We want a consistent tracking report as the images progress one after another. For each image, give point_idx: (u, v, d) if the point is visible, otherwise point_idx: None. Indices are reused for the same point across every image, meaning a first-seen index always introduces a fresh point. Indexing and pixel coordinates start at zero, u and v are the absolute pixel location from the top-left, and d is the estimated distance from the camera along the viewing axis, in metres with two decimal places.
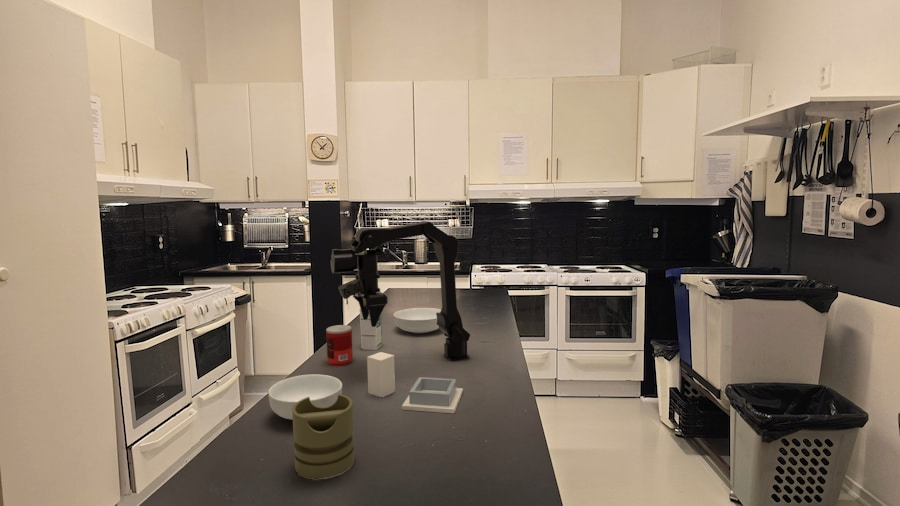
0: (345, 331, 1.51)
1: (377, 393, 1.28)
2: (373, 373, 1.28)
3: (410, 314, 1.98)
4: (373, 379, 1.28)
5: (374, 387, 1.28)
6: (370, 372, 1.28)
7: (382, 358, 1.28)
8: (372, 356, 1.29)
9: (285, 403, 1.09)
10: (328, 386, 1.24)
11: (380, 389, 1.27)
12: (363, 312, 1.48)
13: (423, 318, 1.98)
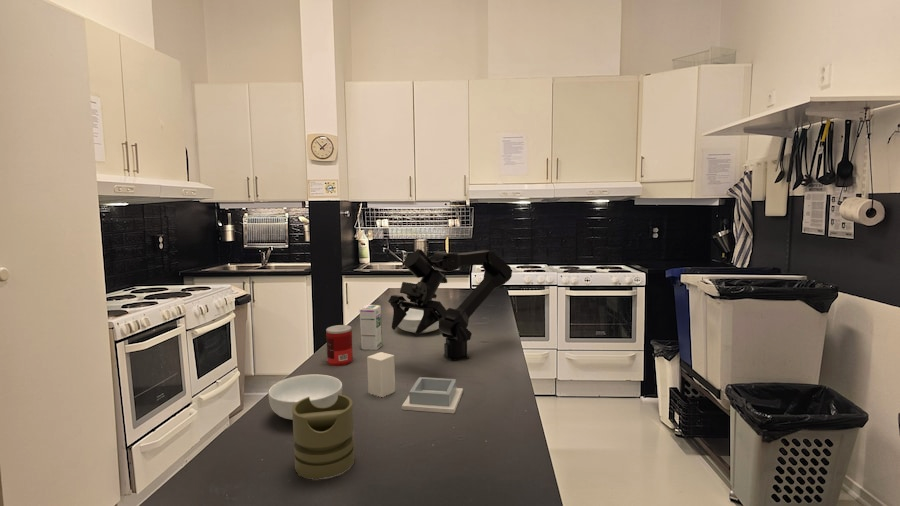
0: (345, 331, 1.51)
1: (377, 393, 1.28)
2: (373, 373, 1.28)
3: (410, 314, 1.98)
4: (373, 379, 1.28)
5: (374, 387, 1.28)
6: (370, 372, 1.28)
7: (382, 358, 1.28)
8: (372, 356, 1.29)
9: (285, 403, 1.09)
10: (328, 386, 1.24)
11: (380, 389, 1.27)
12: (395, 321, 1.43)
13: None
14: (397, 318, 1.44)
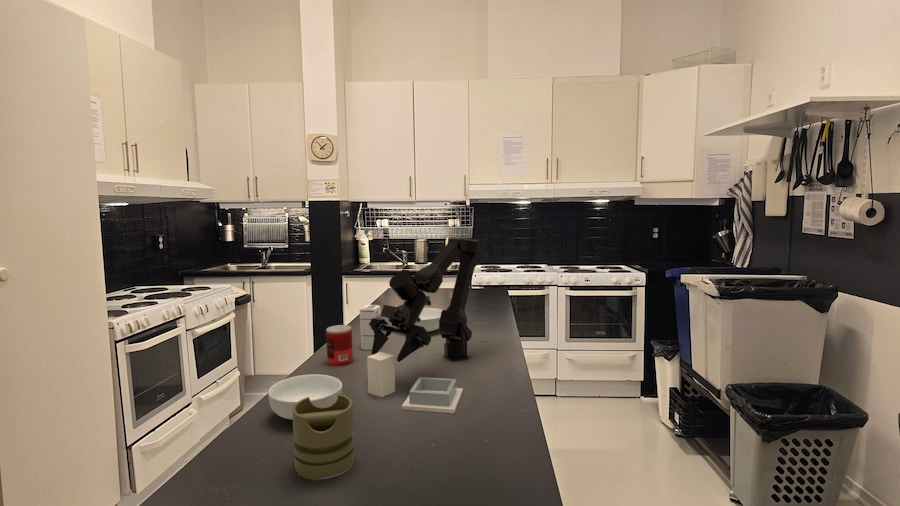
0: (345, 331, 1.51)
1: (377, 393, 1.28)
2: (373, 373, 1.28)
3: None
4: (373, 379, 1.28)
5: (374, 387, 1.28)
6: (370, 372, 1.28)
7: (382, 358, 1.28)
8: (372, 356, 1.29)
9: (285, 403, 1.09)
10: (328, 386, 1.24)
11: (380, 389, 1.27)
12: (375, 346, 1.34)
13: (423, 318, 1.98)
14: (378, 343, 1.35)
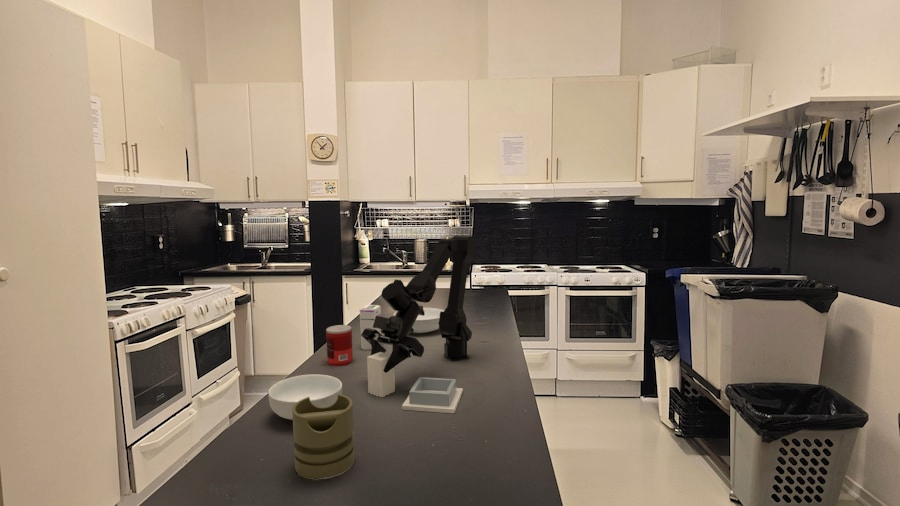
0: (345, 331, 1.51)
1: (377, 393, 1.28)
2: (373, 373, 1.28)
3: None
4: (373, 379, 1.28)
5: (374, 387, 1.28)
6: (370, 372, 1.28)
7: (382, 357, 1.28)
8: (372, 356, 1.29)
9: (285, 403, 1.09)
10: (328, 386, 1.24)
11: (380, 389, 1.27)
12: None
13: (423, 318, 1.98)
14: None
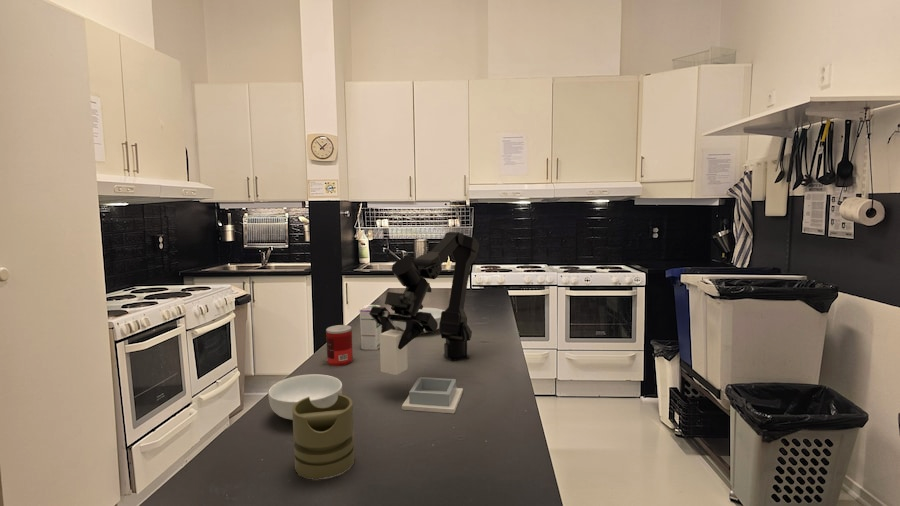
0: (345, 331, 1.51)
1: (391, 371, 1.25)
2: (387, 350, 1.25)
3: None
4: (386, 356, 1.25)
5: (387, 365, 1.25)
6: (383, 349, 1.25)
7: (395, 334, 1.25)
8: (384, 333, 1.26)
9: (285, 403, 1.09)
10: (328, 386, 1.24)
11: (395, 366, 1.24)
12: None
13: None
14: None
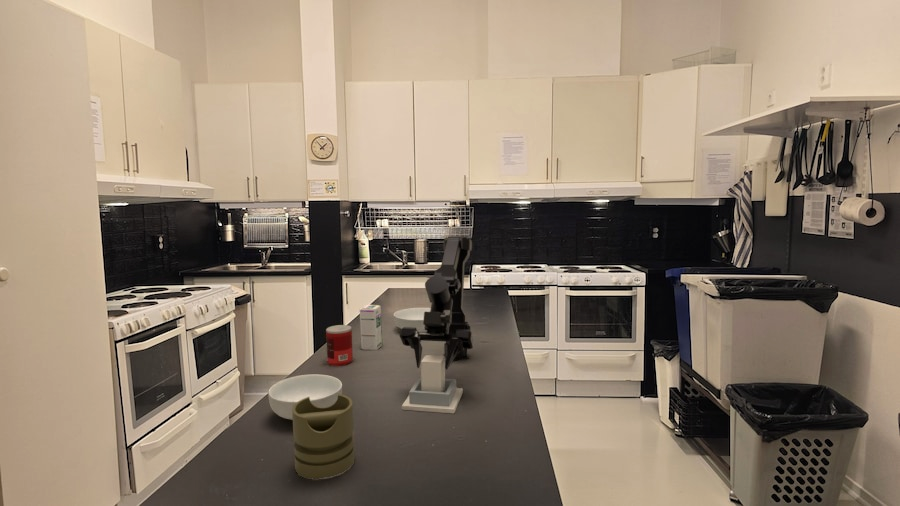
0: (345, 331, 1.51)
1: None
2: (429, 377, 1.22)
3: (410, 314, 1.98)
4: (429, 384, 1.22)
5: None
6: (425, 377, 1.22)
7: (437, 360, 1.22)
8: (425, 360, 1.22)
9: (285, 403, 1.09)
10: (328, 386, 1.24)
11: None
12: (419, 358, 1.24)
13: (423, 318, 1.98)
14: (419, 354, 1.25)
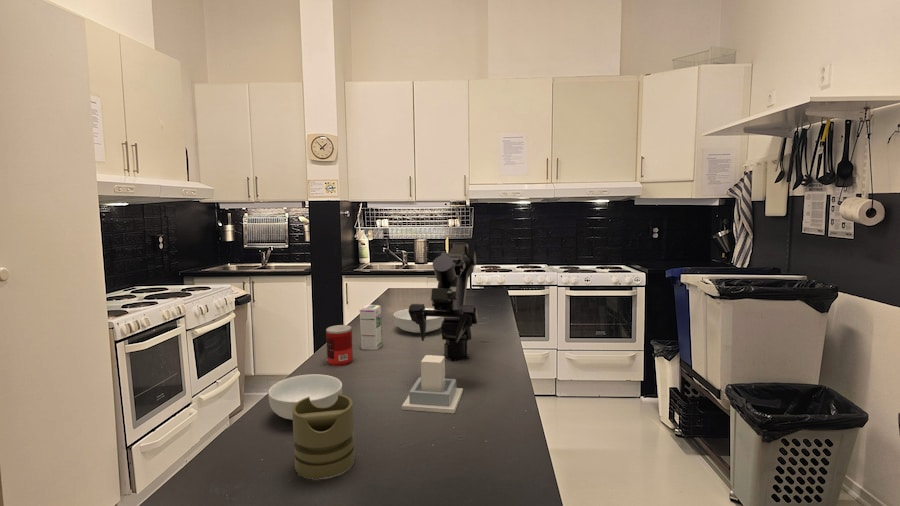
0: (345, 331, 1.51)
1: None
2: (429, 377, 1.22)
3: None
4: (429, 384, 1.22)
5: None
6: (425, 377, 1.22)
7: (437, 360, 1.22)
8: (425, 360, 1.22)
9: (285, 403, 1.09)
10: (328, 386, 1.24)
11: None
12: (423, 331, 1.32)
13: None
14: (424, 328, 1.33)
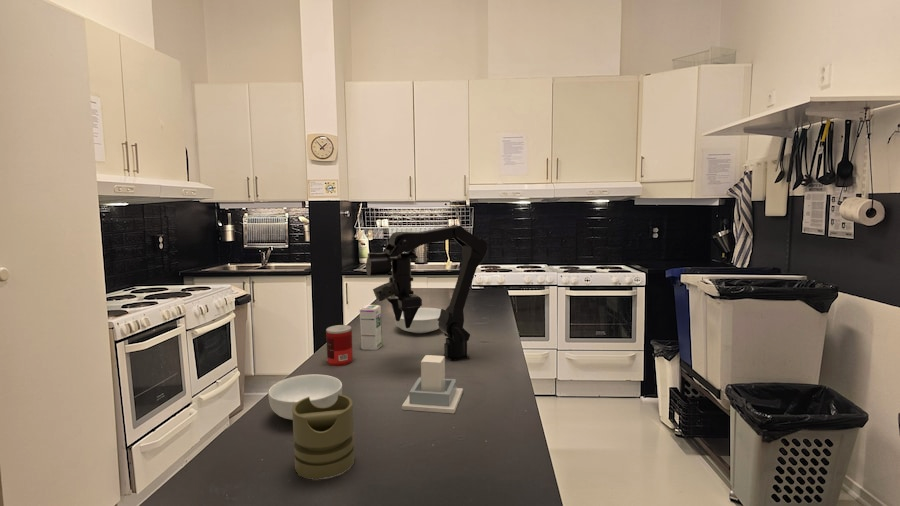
0: (345, 331, 1.51)
1: None
2: (429, 377, 1.22)
3: None
4: (429, 384, 1.22)
5: None
6: (425, 377, 1.22)
7: (437, 360, 1.22)
8: (425, 360, 1.22)
9: (285, 403, 1.09)
10: (328, 386, 1.24)
11: None
12: (396, 314, 1.53)
13: (423, 318, 1.98)
14: (396, 310, 1.53)
